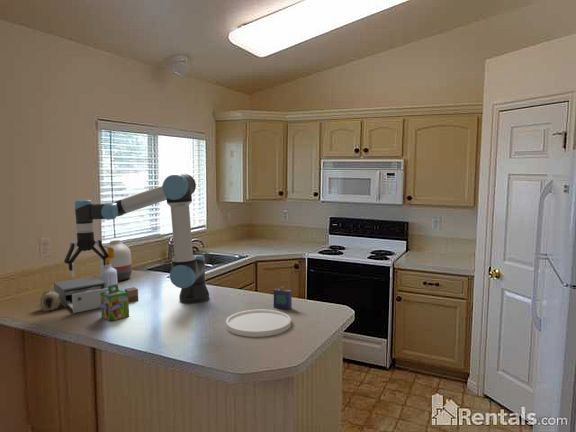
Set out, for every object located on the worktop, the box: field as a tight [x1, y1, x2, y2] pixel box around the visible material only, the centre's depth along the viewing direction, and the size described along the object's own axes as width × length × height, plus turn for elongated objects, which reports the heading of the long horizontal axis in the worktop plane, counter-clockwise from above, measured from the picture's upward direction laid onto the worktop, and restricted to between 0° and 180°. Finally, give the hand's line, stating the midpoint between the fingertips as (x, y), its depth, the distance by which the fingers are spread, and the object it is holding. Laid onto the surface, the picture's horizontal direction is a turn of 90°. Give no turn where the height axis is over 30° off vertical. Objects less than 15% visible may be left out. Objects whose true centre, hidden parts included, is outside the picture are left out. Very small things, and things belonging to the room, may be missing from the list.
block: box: [124, 286, 139, 303], centre depth 225 cm, size 5×5×6 cm
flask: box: [273, 286, 293, 310], centre depth 211 cm, size 9×3×11 cm, turn 68°
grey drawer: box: [65, 286, 113, 314], centre depth 218 cm, size 18×19×9 cm
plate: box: [225, 308, 292, 338], centre depth 189 cm, size 28×28×2 cm
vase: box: [101, 239, 133, 282], centre depth 269 cm, size 17×17×24 cm
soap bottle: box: [99, 246, 119, 290], centre depth 246 cm, size 9×9×25 cm
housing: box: [53, 275, 106, 308], centre depth 228 cm, size 18×20×9 cm
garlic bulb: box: [39, 289, 61, 312], centre depth 212 cm, size 9×8×10 cm
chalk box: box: [100, 284, 130, 322], centre depth 200 cm, size 9×9×15 cm
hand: (88, 274), depth 216 cm, fingers open, 13 cm apart
